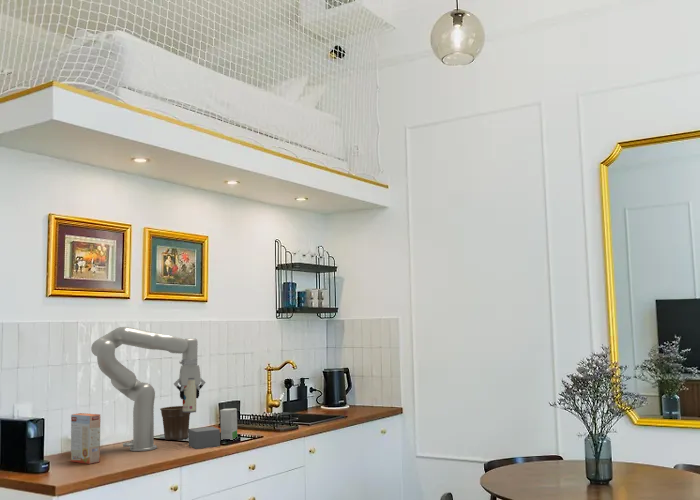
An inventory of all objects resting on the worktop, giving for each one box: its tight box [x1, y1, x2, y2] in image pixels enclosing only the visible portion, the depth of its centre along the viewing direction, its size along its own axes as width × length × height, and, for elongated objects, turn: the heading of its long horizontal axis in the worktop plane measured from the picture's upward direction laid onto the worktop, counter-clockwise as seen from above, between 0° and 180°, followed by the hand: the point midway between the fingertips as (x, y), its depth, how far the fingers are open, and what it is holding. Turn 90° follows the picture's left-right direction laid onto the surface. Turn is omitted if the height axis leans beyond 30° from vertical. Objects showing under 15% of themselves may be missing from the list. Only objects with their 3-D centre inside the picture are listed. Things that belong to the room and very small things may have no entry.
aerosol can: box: [182, 378, 197, 414], centre depth 359 cm, size 7×7×20 cm
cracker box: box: [70, 412, 101, 465], centre depth 315 cm, size 14×6×21 cm, turn 54°
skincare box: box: [219, 407, 238, 441], centre depth 364 cm, size 8×7×16 cm
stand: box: [188, 426, 221, 450], centre depth 347 cm, size 12×12×8 cm
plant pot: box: [159, 405, 191, 441], centre depth 374 cm, size 16×16×16 cm
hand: (189, 398), depth 359 cm, fingers closed on aerosol can, 6 cm apart
